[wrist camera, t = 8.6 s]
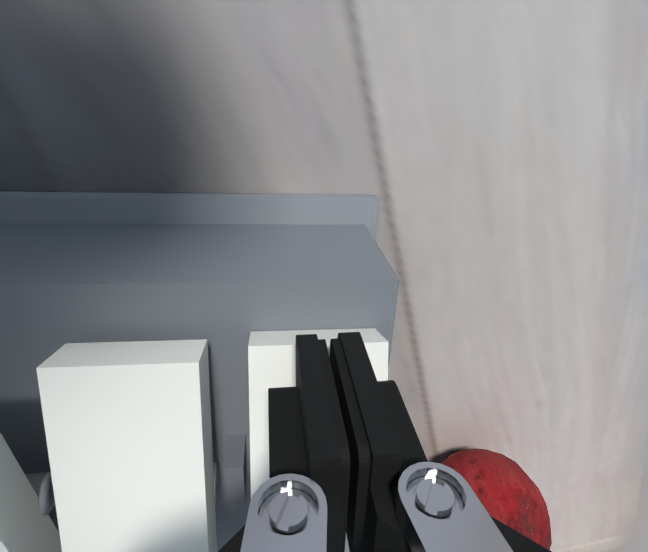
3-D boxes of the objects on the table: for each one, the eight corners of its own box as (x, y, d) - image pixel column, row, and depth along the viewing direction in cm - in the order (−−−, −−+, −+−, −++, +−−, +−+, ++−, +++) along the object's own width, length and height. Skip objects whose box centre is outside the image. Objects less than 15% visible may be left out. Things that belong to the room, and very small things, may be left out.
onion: (437, 405, 23) (512, 553, 16) (523, 429, 25) (627, 576, 18) (388, 480, 25) (435, 643, 18) (470, 499, 27) (544, 656, 20)
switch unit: (-52, 190, 16) (-272, 276, 10) (375, 195, 18) (436, 268, 12) (62, 545, 25) (-14, 721, 18) (346, 523, 27) (371, 674, 20)
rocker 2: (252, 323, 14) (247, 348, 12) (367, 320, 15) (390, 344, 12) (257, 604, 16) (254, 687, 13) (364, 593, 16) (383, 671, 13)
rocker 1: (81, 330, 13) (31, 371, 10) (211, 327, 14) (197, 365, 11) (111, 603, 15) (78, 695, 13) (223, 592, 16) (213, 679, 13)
